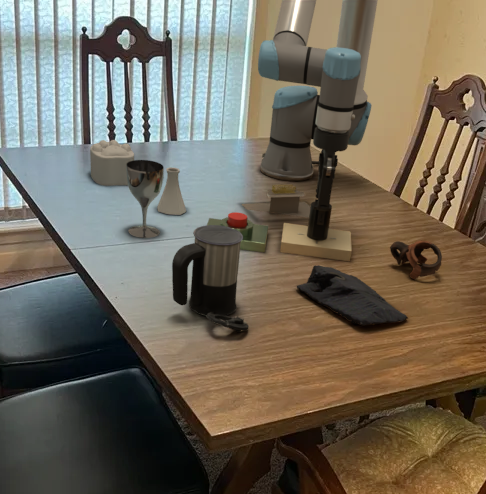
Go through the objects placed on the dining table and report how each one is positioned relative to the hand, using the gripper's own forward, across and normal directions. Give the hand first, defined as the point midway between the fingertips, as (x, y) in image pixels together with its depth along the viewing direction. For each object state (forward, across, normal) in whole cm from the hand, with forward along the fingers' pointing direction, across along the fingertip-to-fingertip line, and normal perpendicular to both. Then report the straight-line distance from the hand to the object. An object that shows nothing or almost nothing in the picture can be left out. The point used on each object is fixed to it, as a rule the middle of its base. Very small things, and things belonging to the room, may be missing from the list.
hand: (317, 231), depth 177 cm
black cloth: (+4, -28, -7) cm, 29 cm away
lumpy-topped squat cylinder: (+4, +31, +53) cm, 62 cm away
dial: (+1, 0, 0) cm, 1 cm away
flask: (+4, +12, +35) cm, 37 cm away
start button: (0, -1, +19) cm, 19 cm away
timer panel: (+4, 0, 0) cm, 4 cm away
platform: (+4, +21, +8) cm, 23 cm away
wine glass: (+4, -3, +39) cm, 40 cm away
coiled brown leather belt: (+4, -8, -22) cm, 24 cm away
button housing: (+4, -1, +19) cm, 19 cm away
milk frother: (+4, -40, +19) cm, 44 cm away
